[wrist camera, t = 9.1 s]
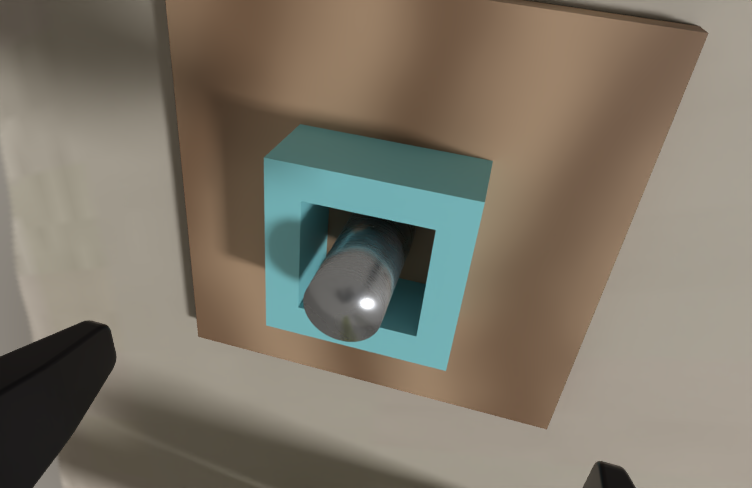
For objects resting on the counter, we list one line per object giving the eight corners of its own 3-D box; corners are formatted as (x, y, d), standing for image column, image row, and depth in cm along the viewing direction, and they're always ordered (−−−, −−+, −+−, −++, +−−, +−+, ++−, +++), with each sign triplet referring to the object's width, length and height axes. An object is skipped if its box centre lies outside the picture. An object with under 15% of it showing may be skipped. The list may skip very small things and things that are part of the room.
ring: (493, 160, 18) (484, 202, 16) (457, 317, 22) (445, 371, 19) (300, 124, 19) (263, 157, 17) (296, 279, 23) (266, 325, 20)
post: (420, 204, 19) (386, 286, 15) (410, 260, 21) (378, 350, 17) (354, 190, 20) (304, 267, 16) (349, 246, 21) (301, 330, 17)
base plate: (699, 26, 16) (708, 33, 15) (546, 411, 24) (546, 429, 23) (178, -52, 18) (160, -49, 17) (209, 323, 27) (198, 336, 26)
